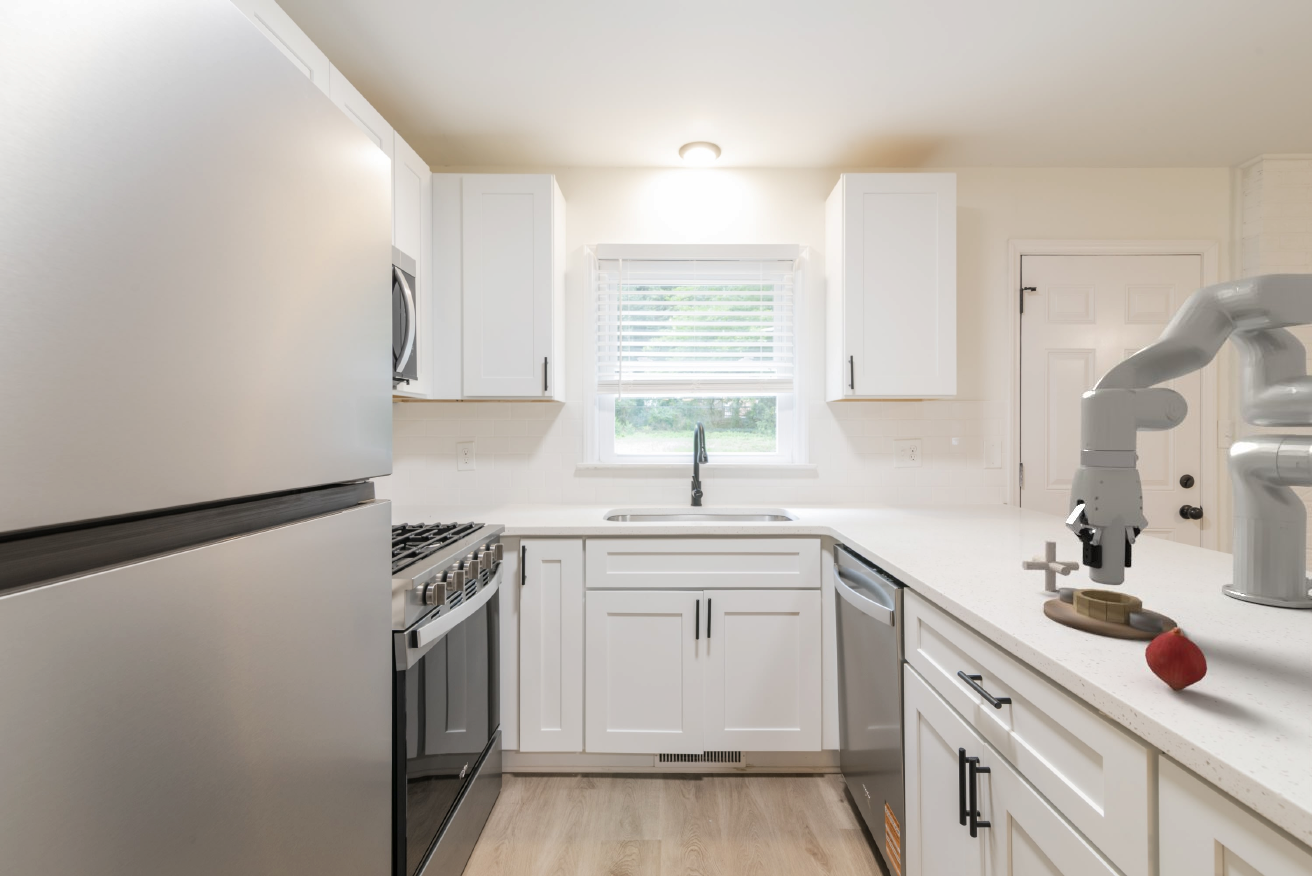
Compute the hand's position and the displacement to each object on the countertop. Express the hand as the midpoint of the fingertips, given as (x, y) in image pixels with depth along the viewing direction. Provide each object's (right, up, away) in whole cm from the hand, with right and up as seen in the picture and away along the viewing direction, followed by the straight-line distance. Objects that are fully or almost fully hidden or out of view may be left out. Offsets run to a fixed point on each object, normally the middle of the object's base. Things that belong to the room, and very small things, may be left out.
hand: (1106, 565), depth 98 cm
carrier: (0, -10, 0) cm, 10 cm away
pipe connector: (+3, -9, +19) cm, 21 cm away
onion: (-11, -10, -25) cm, 29 cm away
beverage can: (0, -3, 0) cm, 3 cm away
